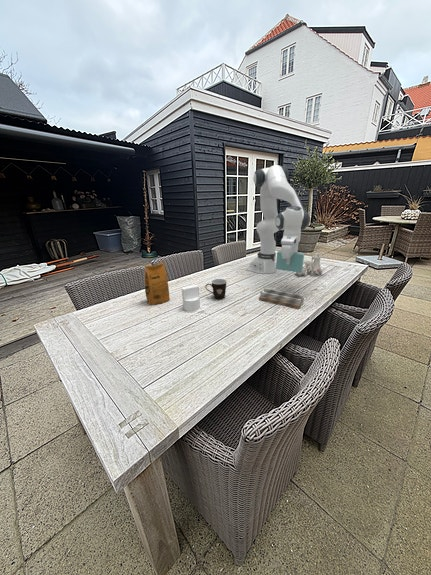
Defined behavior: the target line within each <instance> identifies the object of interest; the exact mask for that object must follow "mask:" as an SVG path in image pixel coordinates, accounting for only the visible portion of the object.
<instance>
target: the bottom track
mask: <svg viewBox="0 0 431 575" xmlns="http://www.w3.org/2000/svg"><path fill="white" fill-rule="evenodd" d="M258 301H261V302H265V303H268V304H274V305H278V306H284V307H287V308H291V309H295V310H300V308H301V306H302V305H303V303H304V301H305V300H304V295H303V294H302V295H301V294H297V293H292V292H287V291H281V290H278V289H277V290H276V289H272V288H267V287H264V288H263V291H262V290H261V291H260V293H259V296H258Z"/></svg>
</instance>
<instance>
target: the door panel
mask: <svg viewBox="0 0 431 575" xmlns="http://www.w3.org/2000/svg"><path fill="white" fill-rule="evenodd" d="M304 260H305V253H303V252H296V253H293V256H292V257H291V258H290V264H289V265H288V264H286V262H287V261H286V259H282V250H278V251H276V259H275V268H276V270H279V271H288V272H294V273H296V272H300V273H301V272H302V269H303V267H304V262H305V261H304Z"/></svg>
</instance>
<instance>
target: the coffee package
mask: <svg viewBox="0 0 431 575" xmlns="http://www.w3.org/2000/svg"><path fill="white" fill-rule="evenodd" d="M144 269H145V272H144V273H145V274H144V292H145V298H146V300H147V301H148V304H149V305H151V306H155V305H157V304H158V305H159V304H164V303H166V302H168V301H170V297H171V296H170V290H169V282H168V276H167V271H166V266H165V262H160V263H158V264H155V265H144Z"/></svg>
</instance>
